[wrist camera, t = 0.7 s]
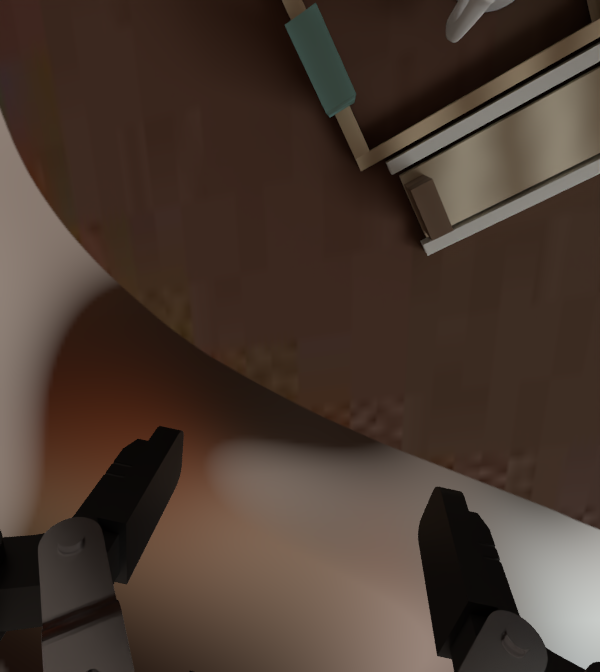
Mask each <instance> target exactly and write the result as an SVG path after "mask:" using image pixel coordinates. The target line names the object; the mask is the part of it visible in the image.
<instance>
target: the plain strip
mask: <svg viewBox="0 0 600 672" xmlns="http://www.w3.org/2000/svg"><path fill="white" fill-rule="evenodd" d="M599 153H600V66H598V67H596V68H594V69H592V70H590V71H589V72H587V73H585V74H583V75H581V76H579V77H578V78H576V79H574V80H572V81H570V82H568V83H567V84H565V85H563V86H561V87H559V88H557V89H556V90H554V91H552V92H550V93H548V94H546V95H545V96H543V97H541V98H539V99H537V100H535V101H534V102H532V103H530V104H528V105H526V106H524V107H523V108H521V109H519V110H517V111H515V112H514V113H512V114H510V115H508V116H506V117H504V118H503V119H501V120H499V121H497V122H495V123H493V124H492V125H490V126H488V127H486V128H484V129H482V130H481V131H479V132H477V133H475V134H473V135H471V136H470V137H468V138H466V139H464V140H462V141H460V142H459V143H457V144H455V145H453V146H451V147H449V148H448V149H446V150H444V151H442V152H440V153H438V154H437V155H435V156H433V157H431V158H429V159H427V160H426V161H424V162H422V163H420V164H418V165H416V166H415V167H413V168H411V169H409V170H407V171H405V172H404V173H402V174H400V175H399V177H400V180H401V182H402V184H403V187H404V189H405V191H406V193H407V196H408V198H409V200H410V203H411V205H412V207H413V210H414V212H415V214H416V216H417V219H418V221H419V223H420V226H421V228H422V230H423V233H424V235H425V236H426V237H430V239H431V240H432V241H433V240H435V239H437V238H439V237H441V236H443V235H446V234H448V233H450V232H452V231H454V230H453V228H452V225H454V224H456V223H458V222H460V221H462V220H464V219H466V218H468V217H470V216H472V215H474V214H476V213H478V212H480V211H482V210H484V209H486V208H488V207H491V206H493V205H495V204H497V203H499V202H501V201H503V200H505V199H507V198H509V197H511V196H513V195H515V194H517V193H519V192H521V191H523V190H525V189H527V188H529V187H531V186H533V185H535V184H537V183H539V182H542V181H544V180H546V179H548V178H550V177H552V176H554V175H556V174H558V173H560V172H562V171H564V170H566V169H568V168H570V167H572V166H574V165H576V164H578V163H580V162H582V161H584V160H586V159H588V158H590V157H593V156H595V155H597V154H599Z"/></svg>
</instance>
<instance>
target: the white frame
mask: <svg viewBox="0 0 600 672" xmlns="http://www.w3.org/2000/svg"><path fill="white" fill-rule="evenodd" d="M282 2H283V4H284V6H285V8H286V10H287V13H288V15H289V17H290V19H291V21H289V22H288V23H287V24H285V27H286V29H287V31H288V34H289V36H290V38H291V40H292V42H293V44H294V46H295V48H296V51H297V53H298V55H299V57H300V59H301V61H302V63H303V65H304V68H305V70H306V72H307V74H308V76H309V78H310V80H311V82H312V85H313V87H314V89H315V91H316V93H317V95H318V97H319V99H320V102H321V104H322V106H323V108H324V110H325V112H326V114H327V115H328V116H329V117H332V116H334V115H335V116H336V118H337V120H338V123H339V125H340V127H341V129H342V131H343V133H344V135H345V138H346V140H347V142H348V144H349V146H350V148H351V151H352V153H353V155H354V157H355V159H356V161H357V163H358V166H359V168H360V170H361V171H363V170H365V169H366V168H368V167H370V166H372V165H373V164H375V163H377V162H379V161H381V160H382V159H384V158H386V157H388V156H389V155H391V154H393V153H395V152H396V151H398V150H400V149H402V148H404V147H405V146H407V145H409V144H411V143H412V142H414V141H416V140H418V139H420V138H421V137H423V136H425V135H427V134H428V133H430V132H432V131H434V130H436V129H437V128H439V127H441V126H443V125H444V124H446V123H448V122H450V121H452V120H453V119H455V118H457V117H459V116H460V115H462V114H464V113H466V112H467V111H469V110H471V109H473V108H475V107H476V106H478V105H480V104H482V103H483V102H485V101H487V100H489V99H491V98H492V97H494V96H496V95H498V94H499V93H501V92H503V91H505V90H507V89H508V88H510V87H512V86H514V85H515V84H517V83H519V82H521V81H522V80H524V79H526V78H528V77H530V76H531V75H533V74H535V73H537V72H538V71H540V70H542V69H544V68H546V67H547V66H549V65H551V64H553V63H554V62H556V61H558V60H560V59H562V58H563V57H565V56H567V55H569V54H570V53H572V52H574V51H576V50H577V49H579V48H581V47H583V46H585V45H586V44H588V43H590V42H592V41H593V40H595V39H597V38H599V37H600V0H587V4H588V8H589V12H590V17H591V21H592V22H591V23H590V24H588V25H586V26H584V27H583V28H581V29H579V30H577V31H576V32H574V33H572V34H571V35H569V36H567V37H565V38H564V39H562V40H560V41H558V42H557V43H555V44H553V45H551V46H550V47H548V48H546V49H544V50H543V51H541V52H539V53H538V54H536V55H534V56H532V57H531V58H529V59H527V60H525V61H524V62H522V63H520V64H518V65H517V66H515V67H513V68H511V69H510V70H508V71H506V72H505V73H503V74H501V75H499V76H498V77H496V78H494V79H492V80H491V81H489V82H487V83H485V84H484V85H482V86H480V87H478V88H477V89H475V90H473V91H472V92H470V93H468V94H466V95H465V96H463V97H461V98H459V99H458V100H456V101H454V102H452V103H451V104H449V105H447V106H445V107H444V108H442V109H440V110H439V111H437V112H435V113H433V114H432V115H430V116H428V117H426V118H425V119H423V120H421V121H419V122H418V123H416V124H414V125H412V126H411V127H409V128H407V129H406V130H404V131H402V132H400V133H399V134H397V135H395V136H393V137H392V138H390V139H388V140H386V141H385V142H383V143H381V144H379V145H378V146H376V147H374V148H373V149H371V150H369V148H368V146H367V144H366V142H365V139H364V137H363V135H362V133H361V130H360V128H359V126H358V124H357V122H356V119H355V117H354V115H353V113H352V110H351V108H350V105H351V104H353V103H354V102H355V97H356V93H355V90H354V88H353V86H352V84H351V81H350V79H349V77H348V75H347V72H346V70H345V68H344V65H343V63H342V61H341V59H340V56H339V54H338V52H337V49H336V47H335V45H334V43H333V40H332V38H331V36H330V34H329V31H328V29H327V27H326V24H325V22H324V20H323V18H322V15H321V13H320V11H319V9H318V6H317V4H316V3H315V4H313V5H312V6H311V7H309V8H308V9H306V8H305V6H304V4H303V1H302V0H282Z"/></svg>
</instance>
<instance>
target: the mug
mask: <svg viewBox="0 0 600 672" xmlns="http://www.w3.org/2000/svg"><path fill="white" fill-rule="evenodd" d="M457 1H458V2H457V4H456V6H455V8H454V9H453V11H452V13H451V14H450V16H449V18H448V20H447V23H446V37H447V39H448V40H449V41H451V42H453V43H455V42H457V41H459V40H460V39H461V38H462V37H463V36H464V35H465V34H466V33H467V31H468V30H469V29H470V28H471V27H472V26H473V25H474V24H475V23H476V21H477V20H478V19H479V18H480V17H481V16H482V14H483V13H484V12H490V11H495V10H498V9H501V8H503V7H505V6H507V5H508V4H510V3H511V2H513V1H514V0H457Z"/></svg>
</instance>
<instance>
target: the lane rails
mask: <svg viewBox="0 0 600 672" xmlns="http://www.w3.org/2000/svg"><path fill="white" fill-rule="evenodd" d="M599 61H600V42H598V43H596V44H595V45H593V46H591V47H589V48H587V49H586V50H584V51H582V52H580V53H579V54H577V55H575V56H573V57H571V58H570V59H568V60H566V61H564V62H562V63H561V64H559V65H557V66H555V67H554V68H552V69H550V70H548V71H546V72H545V73H543V74H541V75H539V76H537V77H536V78H534V79H532V80H530V81H529V82H527V83H525V84H523V85H521V86H520V87H518V88H516V89H514V90H513V91H511V92H509V93H507V94H505V95H504V96H502V97H500V98H498V99H496V100H495V101H493V102H491V103H489V104H488V105H486V106H484V107H482V108H480V109H479V110H477V111H475V112H473V113H471V114H470V115H468V116H466V117H464V118H463V119H461V120H459V121H457V122H455V123H454V124H452V125H450V126H448V127H447V128H445V129H443V130H441V131H439V132H438V133H436V134H434V135H432V136H430V137H429V138H427V139H425V140H423V141H422V142H420V143H418V144H416V145H414V146H413V147H411V148H409V149H407V150H405V151H404V152H402V153H400V154H398V155H397V156H395V157H393V158H391V159H389V160H388V161H386V164H387V167H388V169H389V171H390V173H391V174H392V175H393V174H395V173H397V172H399V171H401V170H402V169H404V168H406V167H408V166H410V165H411V164H413V163H415V162H417V161H419V160H421V159H422V158H424V157H426V156H428V155H430V154H432V153H433V152H435V151H437V150H439V149H441V148H442V147H444V146H446V145H448V144H450V143H452V142H453V141H455V140H457V139H459V138H461V137H463V136H464V135H466V134H468V133H470V132H472V131H473V130H475V129H477V128H479V127H481V126H483V125H484V124H486V123H488V122H490V121H492V120H494V119H495V118H497V117H499V116H501V115H503V114H505V113H506V112H508V111H510V110H512V109H514V108H515V107H517V106H519V105H521V104H523V103H525V102H526V101H528V100H530V99H532V98H534V97H536V96H537V95H539V94H541V93H543V92H545V91H546V90H548V89H550V88H552V87H554V86H556V85H557V84H559V83H561V82H563V81H565V80H567V79H568V78H570V77H572V76H574V75H576V74H577V73H579V72H581V71H583V70H585V69H587V68H588V67H590V66H592V65H594V64H596V63H598V62H599ZM598 174H600V153H599V154H597V155H595V156H593V157H590V158H588V159H586V160H584V161H582V162H580V163H578V164H576V165H574V166H572V167H570V168H568V169H566V170H564V171H562V172H560V173H558V174H556V175H554V176H552V177H550V178H548V179H546V180H544V181H542V182H539V183H537V184H535V185H533V186H531V187H529V188H527V189H525V190H523V191H521V192H519V193H517V194H515V195H513V196H511V197H509V198H507V199H505V200H503V201H501V202H499V203H497V204H495V205H493V206H491V207H488V208H486V209H484V210H482V211H480V212H478V213H476V214H474V215H472V216H470V217H468V218H466V219H464V220H462V221H460V222H458V223H456V224H454V225H452V228H453V230H454V231H452V232H450V233H448V234H446V235H443V236H441V237H439V238H437V239H435V240H433V241H432V240H431V239H430V237H427V238H425V239H423V240H421V241H420V242H421V244H422V246H423V249H424V251H425V252H426V254H427V255H430V254H432V253H434V252H436V251H439V250H441V249H443V248H445V247H447V246H449V245H451V244H453V243H455V242H457V241H460V240H462V239H464V238H466V237H468V236H470V235H472V234H474V233H476V232H478V231H480V230H483V229H485V228H487V227H489V226H491V225H493V224H495V223H497V222H499V221H501V220H504V219H506V218H508V217H510V216H512V215H514V214H516V213H518V212H520V211H522V210H524V209H527V208H529V207H531V206H533V205H535V204H537V203H539V202H541V201H543V200H545V199H548V198H550V197H552V196H554V195H556V194H558V193H560V192H562V191H564V190H566V189H569V188H571V187H573V186H575V185H577V184H579V183H581V182H583V181H585V180H587V179H589V178H592V177H594V176H596V175H598Z"/></svg>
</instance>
